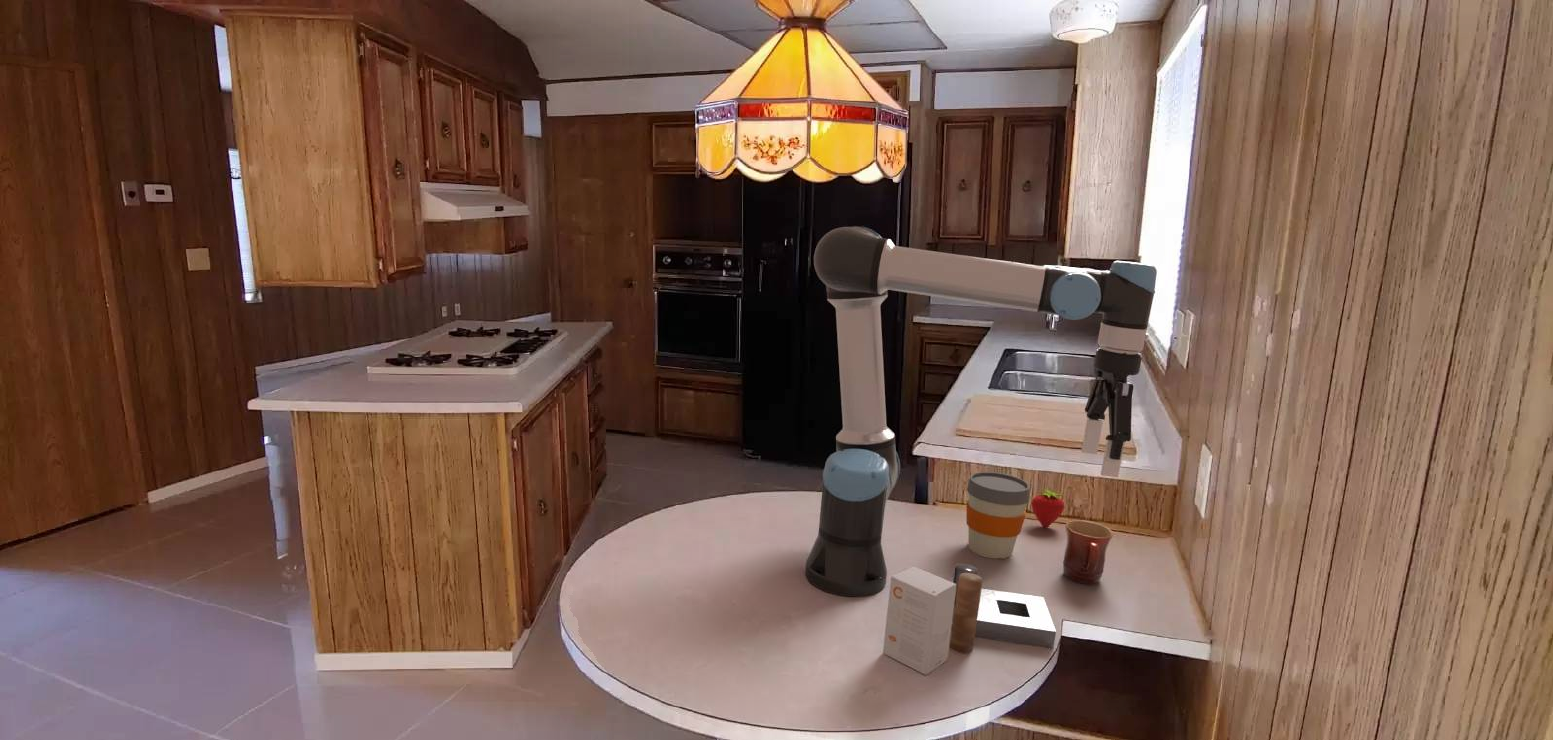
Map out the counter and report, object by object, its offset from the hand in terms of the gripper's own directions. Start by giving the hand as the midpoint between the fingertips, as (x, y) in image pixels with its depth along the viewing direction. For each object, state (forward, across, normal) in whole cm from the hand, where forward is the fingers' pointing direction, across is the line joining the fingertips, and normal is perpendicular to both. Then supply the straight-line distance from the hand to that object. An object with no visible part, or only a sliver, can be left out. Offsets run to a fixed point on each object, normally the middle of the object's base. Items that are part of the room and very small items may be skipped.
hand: (1098, 464), depth 145 cm
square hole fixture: (+26, -16, +16) cm, 35 cm away
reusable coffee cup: (+26, +16, +14) cm, 33 cm away
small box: (+26, -31, +32) cm, 51 cm away
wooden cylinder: (+26, -26, +24) cm, 44 cm away
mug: (+26, +6, -3) cm, 26 cm away
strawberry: (+26, +33, -1) cm, 42 cm away
